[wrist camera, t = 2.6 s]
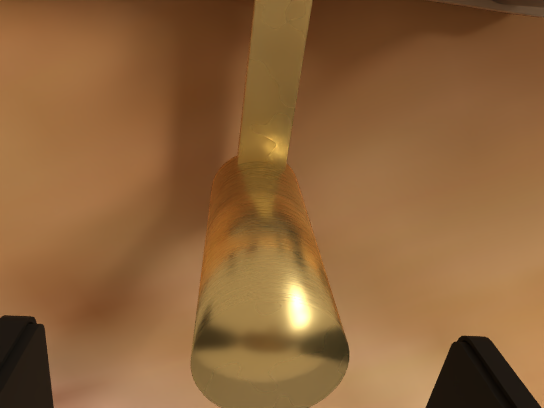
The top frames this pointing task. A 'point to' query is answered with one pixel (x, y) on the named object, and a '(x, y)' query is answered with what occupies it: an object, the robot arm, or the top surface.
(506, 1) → the stool seat
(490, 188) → the top surface
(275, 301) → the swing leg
